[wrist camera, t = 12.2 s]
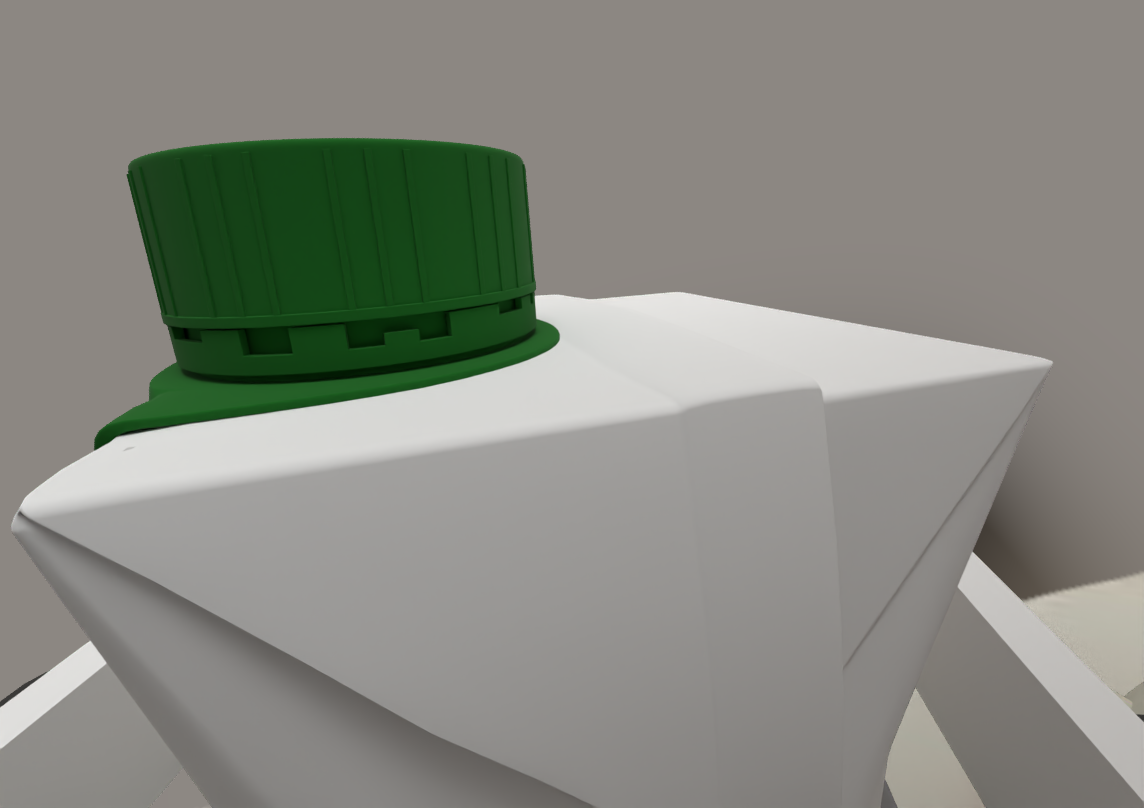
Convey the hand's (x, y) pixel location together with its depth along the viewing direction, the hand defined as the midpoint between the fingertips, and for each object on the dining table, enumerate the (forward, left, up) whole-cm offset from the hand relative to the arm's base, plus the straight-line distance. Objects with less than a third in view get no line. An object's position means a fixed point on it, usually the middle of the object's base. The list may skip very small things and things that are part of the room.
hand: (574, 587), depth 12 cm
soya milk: (0, +3, -12) cm, 13 cm away
